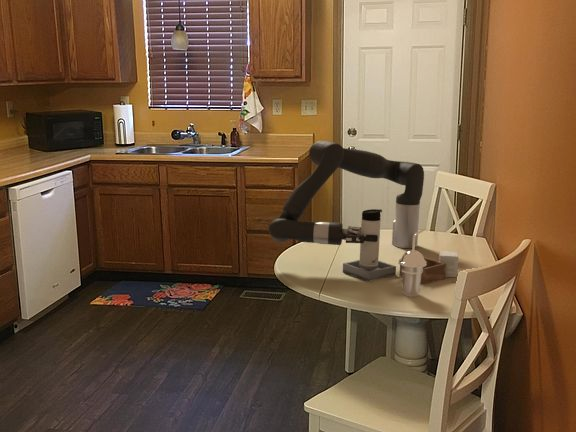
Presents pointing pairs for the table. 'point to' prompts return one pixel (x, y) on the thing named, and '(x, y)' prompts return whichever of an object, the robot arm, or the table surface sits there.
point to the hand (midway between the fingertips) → (377, 236)
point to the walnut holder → (432, 271)
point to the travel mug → (370, 249)
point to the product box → (449, 262)
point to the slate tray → (369, 275)
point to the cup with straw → (412, 269)
